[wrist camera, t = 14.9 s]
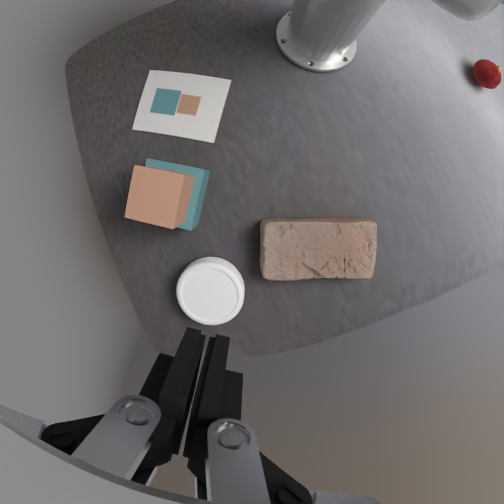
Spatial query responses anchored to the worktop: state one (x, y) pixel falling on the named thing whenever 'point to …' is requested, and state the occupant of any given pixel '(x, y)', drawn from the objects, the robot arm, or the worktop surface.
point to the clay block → (159, 196)
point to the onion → (487, 73)
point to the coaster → (210, 291)
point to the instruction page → (182, 105)
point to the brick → (317, 248)
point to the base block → (197, 190)
